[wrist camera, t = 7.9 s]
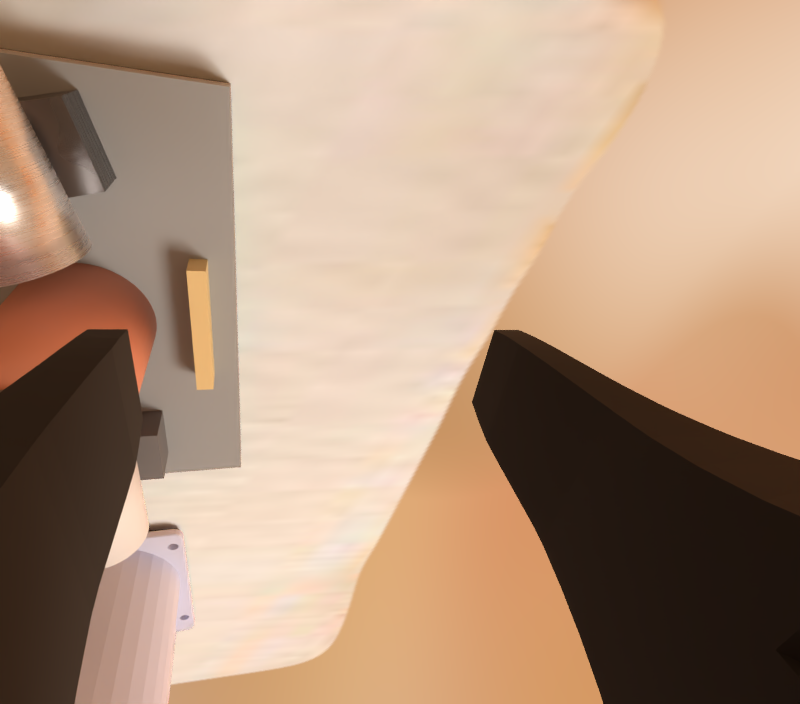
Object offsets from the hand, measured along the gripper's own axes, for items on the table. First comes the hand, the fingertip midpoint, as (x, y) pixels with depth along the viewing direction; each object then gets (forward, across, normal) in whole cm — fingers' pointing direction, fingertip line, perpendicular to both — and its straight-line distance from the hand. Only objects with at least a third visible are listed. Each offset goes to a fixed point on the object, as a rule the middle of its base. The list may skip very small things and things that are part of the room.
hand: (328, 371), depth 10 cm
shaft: (+9, +8, -2) cm, 12 cm away
